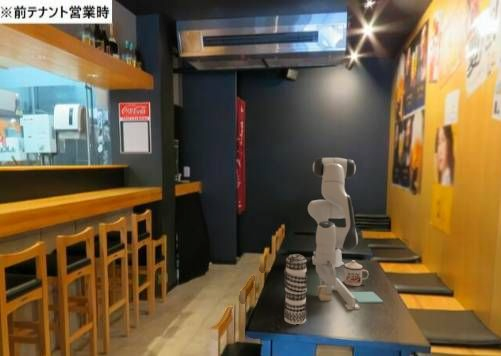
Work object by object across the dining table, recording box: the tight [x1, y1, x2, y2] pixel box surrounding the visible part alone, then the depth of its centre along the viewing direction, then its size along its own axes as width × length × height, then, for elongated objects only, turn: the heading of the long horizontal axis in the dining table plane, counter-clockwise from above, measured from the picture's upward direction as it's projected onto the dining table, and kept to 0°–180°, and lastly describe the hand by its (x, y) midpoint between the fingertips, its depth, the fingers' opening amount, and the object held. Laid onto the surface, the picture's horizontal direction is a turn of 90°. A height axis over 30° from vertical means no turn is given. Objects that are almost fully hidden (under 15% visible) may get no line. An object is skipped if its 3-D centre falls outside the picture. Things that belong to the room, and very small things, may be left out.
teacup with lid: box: [343, 259, 370, 287], centre depth 170 cm, size 12×9×12 cm
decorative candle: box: [283, 253, 309, 325], centre depth 130 cm, size 9×9×25 cm
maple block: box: [317, 285, 333, 302], centre depth 151 cm, size 5×5×5 cm
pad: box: [350, 291, 384, 304], centre depth 152 cm, size 11×11×1 cm
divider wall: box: [331, 277, 361, 311], centre depth 151 cm, size 24×5×5 cm, turn 3°
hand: (325, 288), depth 150 cm, fingers open, 8 cm apart
